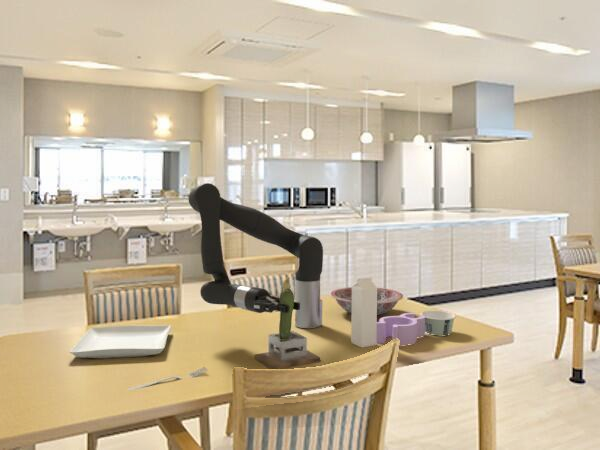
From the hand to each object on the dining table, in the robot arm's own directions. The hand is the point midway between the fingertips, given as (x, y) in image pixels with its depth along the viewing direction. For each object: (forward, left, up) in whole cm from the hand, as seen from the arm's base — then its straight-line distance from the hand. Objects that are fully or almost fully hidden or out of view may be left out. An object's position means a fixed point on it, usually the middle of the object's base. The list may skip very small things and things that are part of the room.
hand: (293, 307), depth 153 cm
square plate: (+41, -38, -17) cm, 59 cm away
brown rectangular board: (+1, -2, -16) cm, 16 cm away
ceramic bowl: (-53, -35, -16) cm, 66 cm away
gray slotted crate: (+1, -2, -16) cm, 16 cm away
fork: (+38, -3, -17) cm, 41 cm away
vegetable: (+1, -3, -11) cm, 12 cm away
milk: (-28, -3, -16) cm, 33 cm away
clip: (-43, -2, -16) cm, 46 cm away
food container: (-59, -1, -16) cm, 61 cm away
